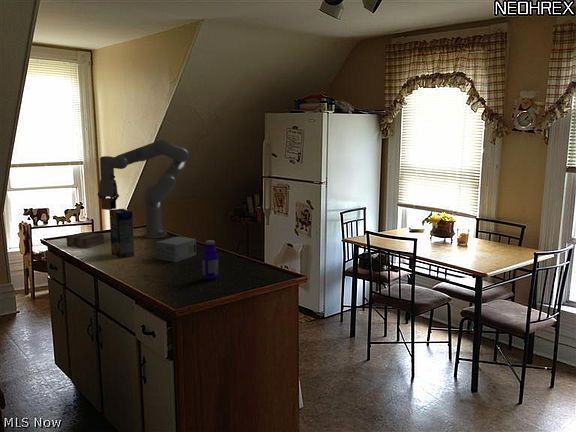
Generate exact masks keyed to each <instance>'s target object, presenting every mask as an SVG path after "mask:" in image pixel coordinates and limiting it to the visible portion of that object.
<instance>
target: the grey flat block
mask: <svg viewBox="0 0 576 432" xmlns="http://www.w3.org/2000/svg"><path fill="white" fill-rule="evenodd" d="M65 238H66V247H67V248H68V247H69V248H75V249H76V248H77V249H86V250H87V249H91V248H94V247H97V246H101V245H103V244H104V243H105V241H104V240H105V239H104V233H97V232H96V233H95V232H85V231H83V232H79V233H75V234H71V235H68V236H65Z"/></svg>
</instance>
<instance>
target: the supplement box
mask: <svg viewBox="0 0 576 432" xmlns="http://www.w3.org/2000/svg"><path fill="white" fill-rule="evenodd" d="M155 253H156V256H155V258H156V260H161V261H166V262H172V263H178V262H180V261H183V260H186V259H189V257H190V258H192V256H193V257H195V255H196V256H197V238H192V237H184V236H174V237H171V238H166V239H163V240H158V241H156V242H155Z"/></svg>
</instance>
